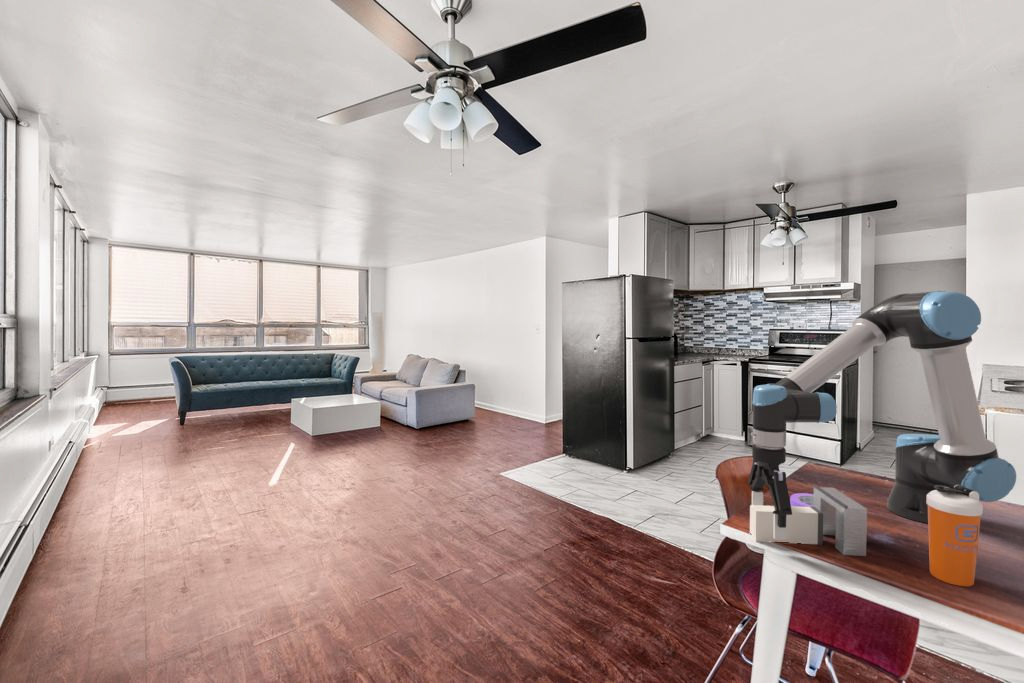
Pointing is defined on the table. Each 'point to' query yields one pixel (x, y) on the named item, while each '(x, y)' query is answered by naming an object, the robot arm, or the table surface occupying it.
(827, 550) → the table surface
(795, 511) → the cream rectangular block
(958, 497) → the shaker bottle
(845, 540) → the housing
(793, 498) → the masking tape
